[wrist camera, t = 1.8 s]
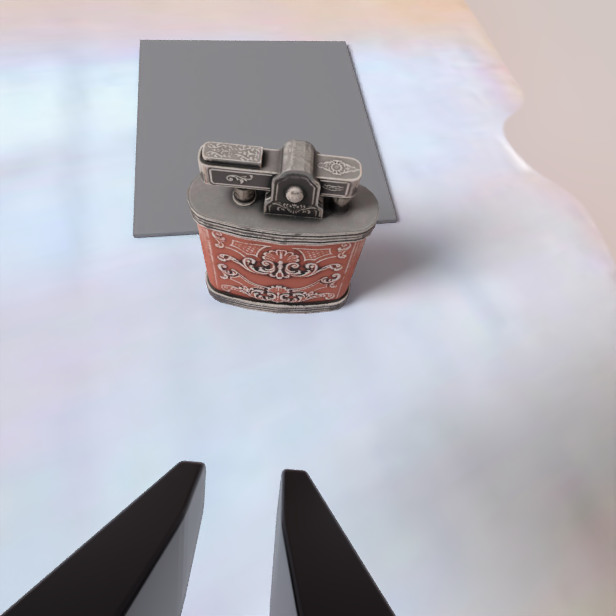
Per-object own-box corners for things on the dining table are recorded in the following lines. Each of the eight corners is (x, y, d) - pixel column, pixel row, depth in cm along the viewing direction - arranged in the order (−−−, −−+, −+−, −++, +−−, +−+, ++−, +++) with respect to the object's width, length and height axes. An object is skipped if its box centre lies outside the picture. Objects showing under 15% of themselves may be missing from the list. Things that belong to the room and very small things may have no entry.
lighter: (347, 267, 26) (393, 132, 17) (347, 318, 24) (398, 200, 15) (211, 255, 25) (184, 109, 16) (202, 307, 24) (167, 177, 15)
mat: (395, 222, 28) (396, 219, 27) (134, 237, 25) (132, 234, 25) (344, 45, 35) (345, 41, 35) (141, 43, 33) (140, 40, 33)
